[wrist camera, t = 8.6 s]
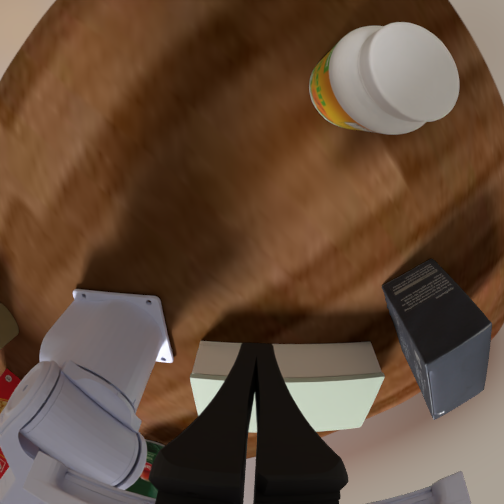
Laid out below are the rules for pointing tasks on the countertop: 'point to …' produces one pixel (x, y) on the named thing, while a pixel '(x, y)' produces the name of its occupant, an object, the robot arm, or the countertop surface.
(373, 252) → the countertop surface
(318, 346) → the keepsake box
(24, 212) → the countertop surface
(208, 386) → the lid
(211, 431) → the robot arm
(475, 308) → the box
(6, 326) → the olive pepper mill
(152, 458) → the canned tomato
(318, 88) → the supplement bottle
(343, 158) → the countertop surface
